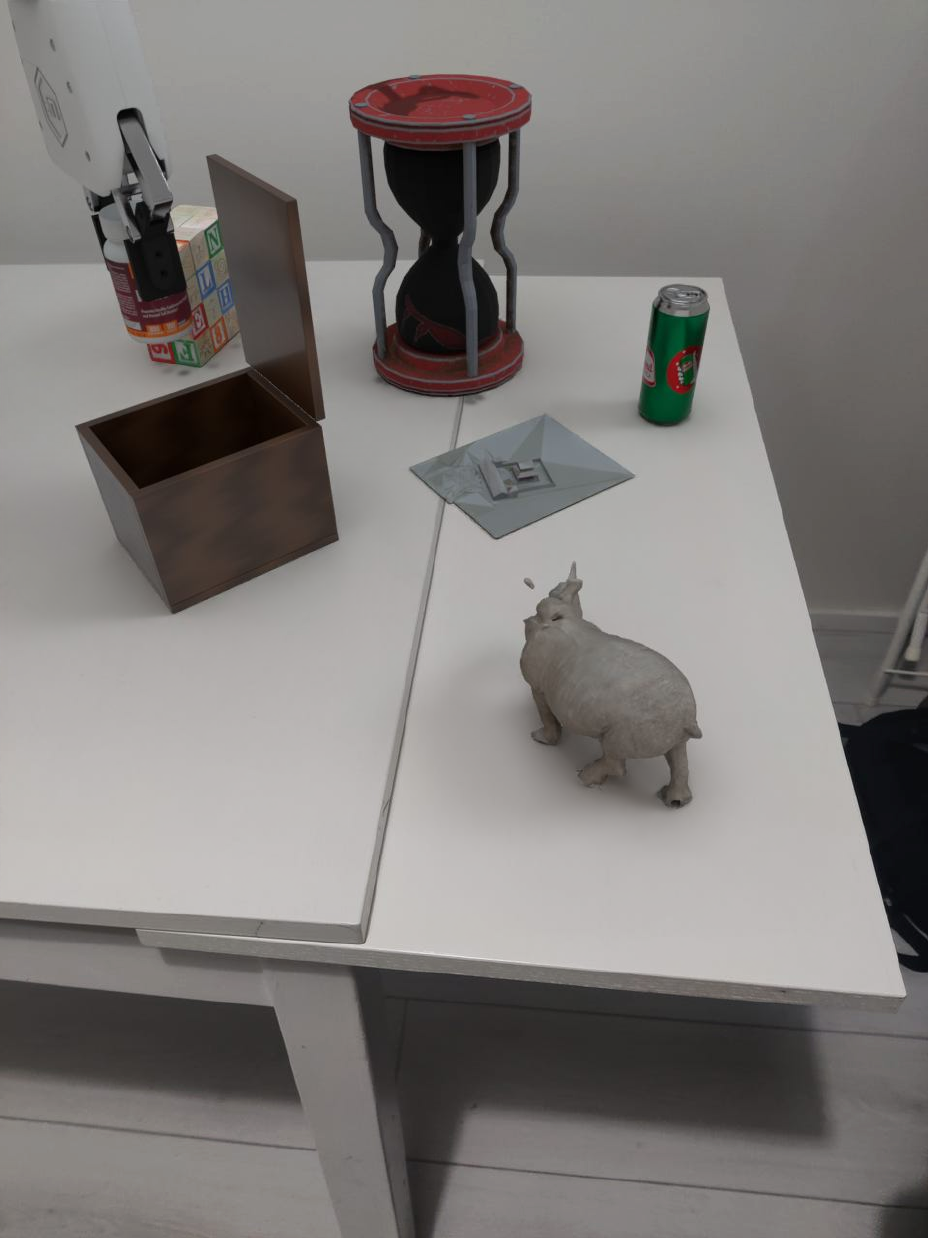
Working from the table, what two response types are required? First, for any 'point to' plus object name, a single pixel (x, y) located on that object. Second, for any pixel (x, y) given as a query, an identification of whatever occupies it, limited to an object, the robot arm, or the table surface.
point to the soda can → (673, 353)
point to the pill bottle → (141, 318)
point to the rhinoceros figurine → (606, 692)
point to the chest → (212, 484)
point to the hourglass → (443, 226)
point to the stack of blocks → (201, 288)
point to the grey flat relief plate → (521, 474)
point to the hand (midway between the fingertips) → (147, 279)
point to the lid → (268, 281)
